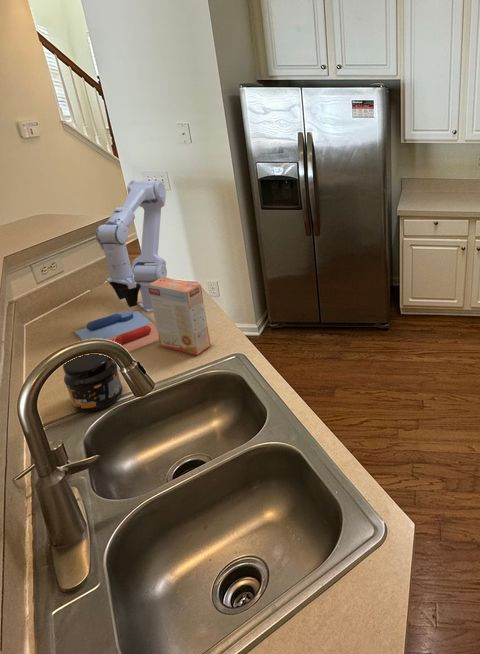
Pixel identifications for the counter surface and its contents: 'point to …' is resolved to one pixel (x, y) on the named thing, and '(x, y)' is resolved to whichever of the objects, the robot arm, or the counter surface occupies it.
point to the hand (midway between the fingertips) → (128, 302)
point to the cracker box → (179, 315)
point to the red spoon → (132, 335)
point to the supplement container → (92, 382)
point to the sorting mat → (124, 331)
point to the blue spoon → (110, 320)
